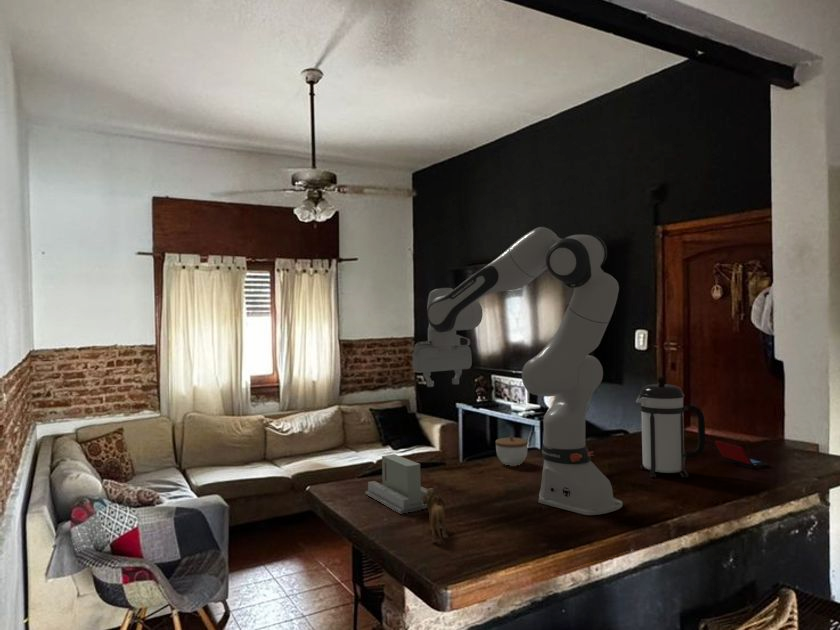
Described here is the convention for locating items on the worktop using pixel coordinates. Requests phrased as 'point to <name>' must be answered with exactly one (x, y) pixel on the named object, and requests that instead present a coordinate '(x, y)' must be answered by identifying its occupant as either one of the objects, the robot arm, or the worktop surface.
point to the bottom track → (413, 506)
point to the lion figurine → (435, 512)
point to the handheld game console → (738, 455)
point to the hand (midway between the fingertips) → (443, 385)
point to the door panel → (402, 476)
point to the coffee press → (666, 429)
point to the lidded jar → (511, 450)
